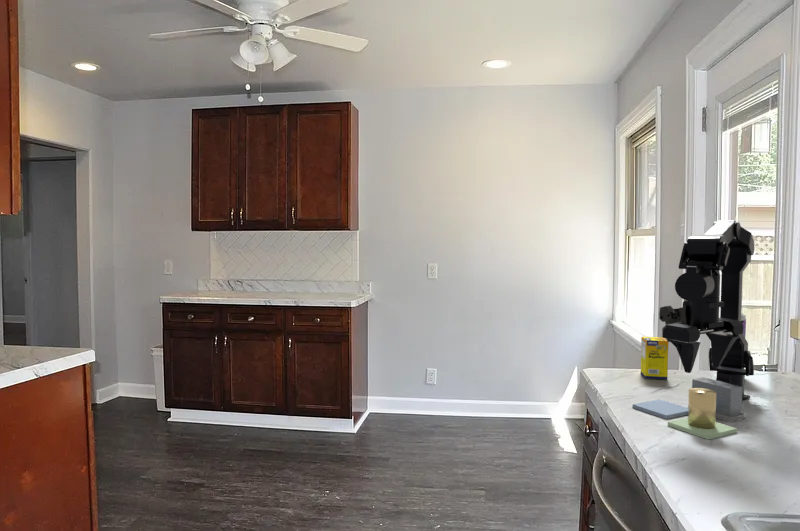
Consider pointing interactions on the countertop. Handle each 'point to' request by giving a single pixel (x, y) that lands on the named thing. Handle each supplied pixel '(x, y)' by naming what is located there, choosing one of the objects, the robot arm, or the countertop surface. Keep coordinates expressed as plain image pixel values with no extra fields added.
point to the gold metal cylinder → (702, 408)
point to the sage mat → (704, 433)
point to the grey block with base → (724, 398)
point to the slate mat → (662, 408)
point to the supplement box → (654, 358)
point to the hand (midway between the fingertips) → (702, 369)
